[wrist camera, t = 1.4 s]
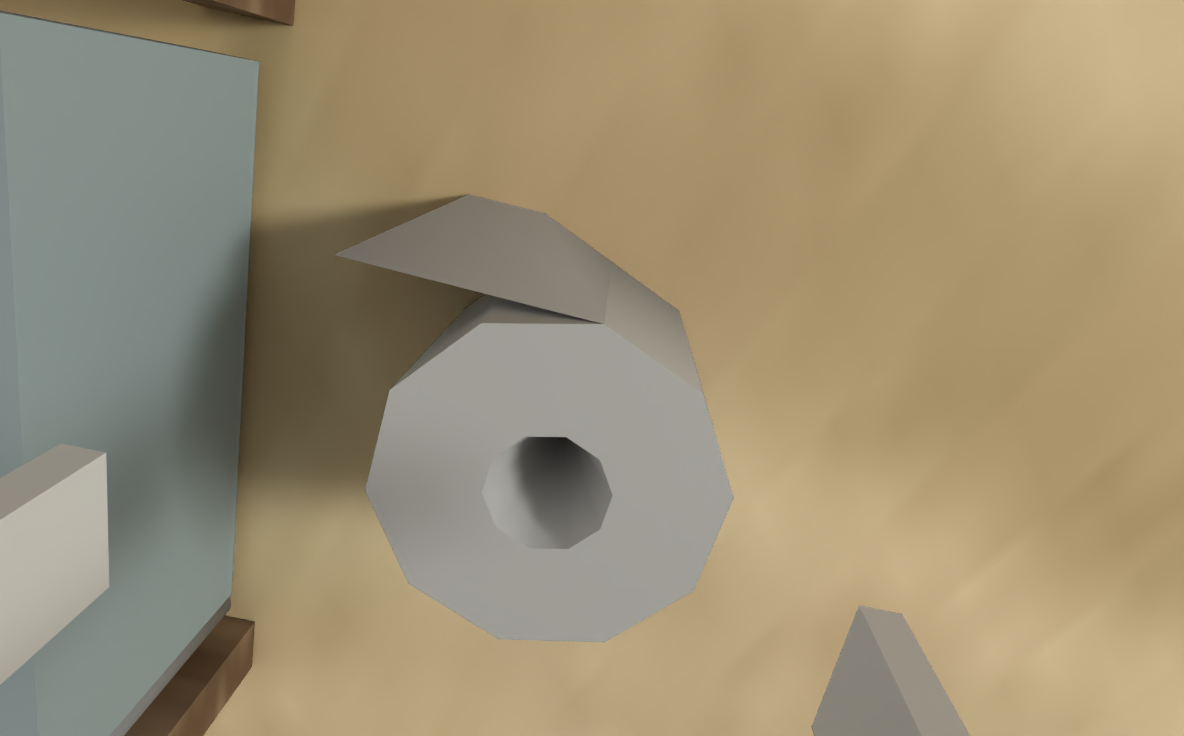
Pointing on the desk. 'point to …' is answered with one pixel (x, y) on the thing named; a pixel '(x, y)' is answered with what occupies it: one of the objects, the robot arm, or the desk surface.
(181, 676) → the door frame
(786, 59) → the desk surface
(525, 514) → the toilet tissue
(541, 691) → the desk surface
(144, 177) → the door
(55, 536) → the robot arm
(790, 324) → the desk surface
